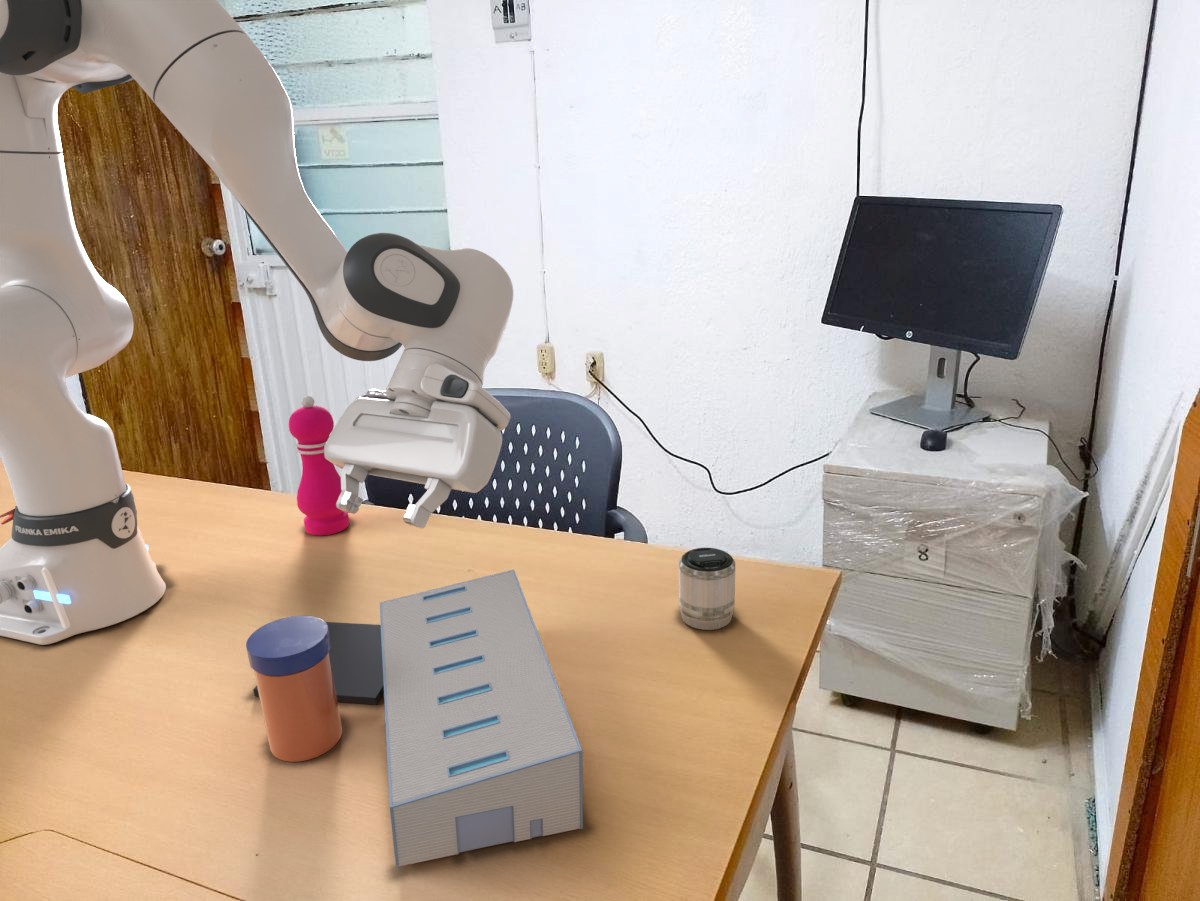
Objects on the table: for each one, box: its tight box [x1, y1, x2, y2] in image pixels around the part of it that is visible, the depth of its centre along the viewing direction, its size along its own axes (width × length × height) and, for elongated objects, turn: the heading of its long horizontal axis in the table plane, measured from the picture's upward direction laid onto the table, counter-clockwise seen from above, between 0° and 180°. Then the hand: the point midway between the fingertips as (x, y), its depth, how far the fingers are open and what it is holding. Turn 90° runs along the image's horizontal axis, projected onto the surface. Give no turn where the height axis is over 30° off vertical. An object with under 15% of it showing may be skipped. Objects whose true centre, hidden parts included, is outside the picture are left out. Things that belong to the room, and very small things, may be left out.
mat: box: [252, 621, 384, 705], centre depth 88 cm, size 13×13×1 cm
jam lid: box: [245, 615, 331, 676], centre depth 73 cm, size 7×7×2 cm
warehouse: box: [379, 569, 584, 869], centre depth 76 cm, size 30×14×8 cm, turn 15°
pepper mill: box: [288, 395, 350, 536], centre depth 118 cm, size 7×7×20 cm
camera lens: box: [678, 547, 736, 631], centre depth 93 cm, size 6×6×8 cm
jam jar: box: [253, 653, 343, 763], centre depth 75 cm, size 6×6×11 cm
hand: (378, 517), depth 81 cm, fingers open, 8 cm apart
